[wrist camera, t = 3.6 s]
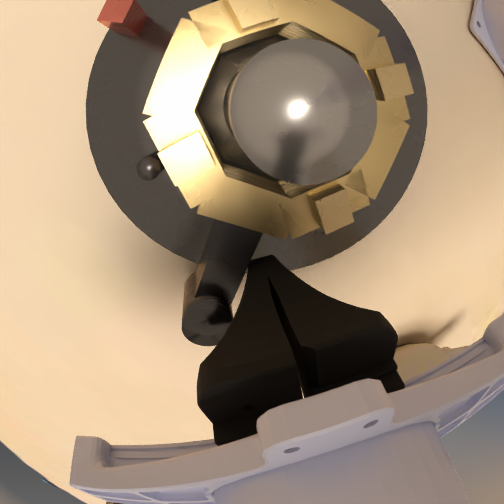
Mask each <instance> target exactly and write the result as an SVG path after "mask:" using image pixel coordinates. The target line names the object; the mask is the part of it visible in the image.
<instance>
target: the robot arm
mask: <svg viewBox="0 0 504 504" xmlns="http://www.w3.org/2000/svg"><path fill="white" fill-rule="evenodd" d="M470 30H471V32H472V33H473V34H474V35H475V37H476V38H477V39H478V40H479V41H480V43H481V44H482V45H483V46H484V47H485V49H486V50H487V51H488V53H489V54H490V55H491V56H492V58H493V59H494V60H495V62H496V63H497V65H498V66H499V67H500V69H501V70H502V72H503V73H504V0H475V1H474V6H473V11H472V16H471V21H470ZM397 341H398V336H397V333H396V331H395V330H394V328H393V327H392V325H391V324H390V323H389V322H388V320H387V319H386V318H385V317H384V316H383V315H382V314H381V313H380V312H378V311H373V310H369V309H364V308H360V307H356V306H353V305H350V304H346V303H344V302H341V301H339V300H336V299H334V298H331V297H329V296H327V295H325V294H323V293H321V292H319V291H318V290H316V289H314V288H313V287H311V286H310V285H308V284H307V283H305V282H304V281H302V280H301V279H300V278H298V277H297V276H296V275H295V274H293V273H292V272H291V271H290V270H288V269H287V268H286V267H285V266H284V265H283V264H282V263H281V262H280V261H279V260H278V259H277V258H276V256H274V255H273V254H271V255H268V256H264V257H260V258H257V259H253V260H251V261H250V263H249V265H248V273H247V279H246V284H245V288H244V292H243V295H242V298H241V301H240V304H239V307H238V309H237V312H236V314H235V316H234V318H233V320H232V322H231V324H230V326H229V328H228V329H227V331H226V333H225V334H224V336H223V337H222V339H221V340H220V341H219V343H218V344H217V346H216V347H215V348H214V350H213V351H212V352H211V353H210V354H209V355H208V357H207V358H206V359H205V360H204V361H203V362H202V363H201V364H200V368H199V373H198V380H197V403H198V406H199V408H200V409H201V410H202V412H203V413H204V414H205V415H206V416H207V418H208V419H209V420H210V421H211V422H212V423H213V431H214V439H209V440H202V441H193V442H184V443H172V444H156V445H110V444H109V443H108V442H107V441H105V440H104V439H102V438H99V437H91V436H76V440H75V446H74V453H73V459H72V467H71V475H70V486H72V487H74V488H76V489H78V490H81V491H83V492H85V493H88V494H90V495H92V496H95V497H97V498H100V499H103V500H105V501H109V502H116V503H123V504H470V501H469V499H468V496H467V494H466V492H465V489H464V487H463V485H462V482H461V480H460V478H459V476H458V473H457V471H456V469H455V467H454V465H453V463H452V461H451V458H450V456H449V455H448V452H447V450H446V448H445V446H444V444H443V442H442V440H441V437H442V436H444V435H446V434H447V433H449V432H450V431H451V430H453V429H454V428H456V427H457V426H459V425H460V424H461V423H463V422H464V421H465V420H467V419H468V418H469V417H471V416H472V415H473V414H474V413H476V412H477V411H478V410H480V409H481V408H482V407H483V406H484V405H486V404H487V403H488V402H489V401H491V400H492V399H493V398H494V397H495V396H496V395H498V394H499V393H500V392H501V391H502V390H504V314H502V315H501V316H499V317H498V318H497V319H495V320H494V321H492V322H491V323H490V324H489V325H488V327H487V328H486V330H485V332H484V335H483V337H482V338H481V339H479V340H478V341H476V342H475V343H473V344H472V345H470V346H468V347H467V348H465V349H464V350H462V351H460V352H459V353H457V354H455V355H454V356H452V357H450V358H449V359H447V360H445V361H443V362H441V363H440V364H438V365H436V366H434V367H432V368H431V369H429V370H427V371H425V372H423V373H421V374H419V375H417V376H415V377H413V378H411V379H409V380H407V381H405V382H403V381H402V379H401V377H400V375H399V374H398V372H397V369H398V366H397V364H396V362H395V360H394V359H393V358H394V354H395V350H396V346H397ZM301 388H302V390H301ZM302 392H303V395H304V399H303V395H302Z"/></svg>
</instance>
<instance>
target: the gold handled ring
mask: <svg viewBox="0 0 504 504" xmlns="http://www.w3.org/2000/svg"><path fill="white" fill-rule="evenodd" d="M188 14H189V19H190V20H188V19H184V18H181V20H180V22H179V24H178V26H177V28H176V30H175V32H174V35H173V37H172V39H171V41H170V43H169V46H168V48H167V50H166V52H165V55H164V57H163V60H162V62H161V64H160V67H159V69H158V72H157V74H156V77H155V80H154V82H153V85H152V88H151V90H150V93H149V96H148V99H147V102H146V104H145V107H144V110H143V113H144V114H148V115H152V117H150V118H149V119H147V120H145V121H143V122H144V124H145V126H146V128H147V130H148V132H149V134H150V135H151V137H152V139H153V141H154V143H155V145H156V147H157V149H158V150H159V152H158V156H159V158H160V160H161V161H162V163H163V165H164V167H165V169H166V171H167V172H168V174H169V176H170V178H171V180H172V181H173V183H174V185H175V186H177V185H178V187H179V189H180V191H181V192H182V194H183V196H184V198H185V199H186V201H187V203H188V205H189V207H190V208H193V207H195V206H197V205H198V207H197V214H200V215H203V216H207V217H210V218H214V221H213V224H212V227H211V230H210V232H209V235H208V238H207V241H206V244H205V246H204V249H203V252H202V255H201V258H200V261H199V264H198V267H197V270H196V272H195V273H193V274H192V275H191V276H189V278H188V279H187V280H186V282H185V286H184V300H183V316H182V332H183V334H184V336H185V337H186V338H187V339H188V340H189V341H191V342H192V343H195V344H197V345H201V346H215V345H217V344H218V343H219V341H220V340H221V339H222V337H223V336H224V334H225V333H226V331H227V329H228V328H229V326H230V324H231V322H232V320H233V313H232V306H231V303H232V301H233V299H234V296H235V294H236V292H237V290H238V288H239V285H240V283H241V281H242V279H243V276H244V274H245V272H246V270H247V268H248V265H249V263H250V261H251V259H252V256H253V254H254V252H255V250H256V248H257V245H258V243H259V241H260V239H261V236H262V234H263V233H264V234H267V235H271V236H274V237H277V238H280V239H284V240H286V238H287V236H288V234H290V236H291V238H292V239H295V238H297V237H299V236H301V235H304V234H306V233H308V232H310V231H313V230H315V229H317V228H319V227H320V228H321V229H322V230H323V232H324V233H325V234H329V233H331V232H333V231H335V230H337V229H340V228H342V227H344V226H346V225H348V224H351V223H353V222H354V219H353V215H352V213H353V212H355V211H357V210H359V209H362V208H364V207H366V206H368V205H370V202H369V198H368V197H370V198H372V199H374V200H375V199H376V197H377V195H378V193H379V191H380V189H381V187H382V185H383V183H384V181H385V179H386V177H387V174H388V172H389V170H390V168H391V166H392V164H393V162H394V160H395V158H396V155H397V153H398V151H399V149H400V147H401V144H402V142H403V140H404V138H405V135H406V133H407V131H408V128H409V126H410V125H408V124H407V123H406V122H404V121H405V120H408V119H410V116H409V112H408V108H407V104H406V100H405V96H406V95H410V94H414V92H413V88H412V84H411V81H410V78H409V74H408V71H407V68H406V65H405V63H396V64H395V63H394V60H393V58H392V55H391V52H390V49H389V46H388V44H387V41H386V39H385V36H383V37H378V34H379V32H380V30H379V29H377V28H376V27H374V26H373V25H371V24H370V23H368V22H367V21H365V20H364V19H362V18H360V17H359V16H357V15H356V14H354V13H352V12H351V11H349V10H347V9H345V8H344V7H342V6H340V5H338V4H337V3H335V2H333V1H331V0H219V1H216V2H213V3H210V4H208V5H205V6H202V7H200V8H197V9H195V10H192V11H190V12H188ZM277 34H278V35H281V36H283V37H285V38H288V39H297V38H305V39H314V40H319V41H323V42H326V43H329V44H331V45H333V46H335V47H337V48H339V49H341V50H342V51H344V52H345V53H347V54H348V55H349V56H351V57H352V58H353V59H354V60H355V61H356V62H357V63H358V64H359V65H360V67H361V68H362V69H363V71H364V72H365V73H366V75H367V77H368V79H369V81H370V82H371V85H372V87H373V90H374V93H375V97H376V102H377V125H376V130H375V134H374V137H373V140H372V142H371V145H370V146H369V148H368V150H367V152H366V153H365V155H364V156H363V158H362V159H361V160H360V161H359V162H358V163H357V164H356V165H355V166H354V167H353V168H352V169H351V170H349V171H348V172H346V173H345V174H343V175H342V176H340V177H338V178H336V179H334V180H331V181H328V182H325V183H320V184H313V185H298V184H292V183H288V182H284V181H281V180H280V181H278V182H277V181H274V180H271V179H268V178H266V177H263V176H260V175H257V174H254V173H252V172H249V171H246V170H243V169H240V168H237V167H234V166H231V165H228V164H225V163H223V162H222V160H221V158H220V156H219V154H218V152H217V150H216V148H215V146H214V144H213V142H212V140H211V138H210V136H209V134H208V132H207V130H206V128H205V126H204V124H203V122H202V120H201V118H200V116H199V114H198V112H197V107H198V105H199V102H200V99H201V97H202V94H203V92H204V89H205V87H206V85H207V82H208V80H209V77H210V75H211V73H212V70H213V68H214V66H215V63H216V61H217V59H218V57H219V54H221V53H224V52H227V51H229V50H232V49H234V48H237V47H240V46H243V45H245V44H248V43H251V42H254V41H257V40H260V39H263V38H267V37H270V36H273V35H277Z"/></svg>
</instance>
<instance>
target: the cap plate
mask: <svg viewBox="0 0 504 504" xmlns="http://www.w3.org/2000/svg"><path fill="white" fill-rule="evenodd" d="M216 1H219V0H107V1H106V3H105V5H104V7H103V9H102V11H101V13H100V15H99V17H98V19H97V21H99V22H100V23H102V24H103V25H105V26H106V27H108V28H110V29H109V31H108V32H107V34H106V36H105V38H104V40H103V42H102V44H101V46H100V48H99V50H98V53H97V55H96V57H95V60H94V64H93V67H92V71H91V74H90V78H89V83H88V90H87V99H86V124H87V132H88V138H89V143H90V149H91V152H92V155H93V158H94V161H95V164H96V167H97V170H98V172H99V174H100V176H101V178H102V180H103V182H104V184H105V186H106V188H107V190H108V192H109V193H110V195H111V196H112V198H113V199H114V200H115V202H116V203H117V205H118V206H119V207H120V209H121V210H122V211H123V212H124V214H125V215H126V216H127V217H128V218H129V219H130V220H131V221H132V222H133V223H134V224H135V225H136V226H137V227H138V228H139V229H140V230H141V231H143V232H144V233H145V234H146V235H148V236H149V237H150V238H151V239H152V240H154V241H155V242H157V243H158V244H160V245H162V246H163V247H165V248H166V249H168V250H170V251H171V252H173V253H175V254H177V255H179V256H182V257H184V258H186V259H188V260H190V261H192V262H196V263H199V261H200V258H201V255H202V252H203V249H204V246H205V244H206V241H207V238H208V235H209V232H210V230H211V227H212V224H213V221H214V218H210V217H207V216H203V215H200V214H197V207H198V205H197V206H195V207H193V208H190V207H189V205H188V203H187V201H186V199H185V198H184V196H183V194H182V192H181V191H180V189H179V187H178V185H177V186H175V185H174V183H173V181H172V180H171V178H170V176H169V174H168V172H167V171H166V169H165V167H164V165H163V163H162V161H161V160H160V158H159V156H158V152H159V150H158V149H157V147H156V145H155V143H154V141H153V139H152V137H151V135H150V134H149V132H148V130H147V128H146V126H145V124H144V122H143V121H145V120H147V119H149V118H150V117H152V115H148V114H144V113H143V110H144V107H145V104H146V102H147V99H148V96H149V93H150V90H151V88H152V85H153V82H154V80H155V77H156V74H157V72H158V69H159V67H160V64H161V62H162V60H163V57H164V55H165V52H166V50H167V48H168V46H169V43H170V41H171V39H172V37H173V35H174V32H175V30H176V28H177V26H178V24H179V22H180V20H181V18H184V19H188V20H190V19H189V14H188V12H190V11H192V10H195V9H197V8H200V7H202V6H205V5H208V4H210V3H213V2H216ZM331 1H333V2H335V3H337V4H338V5H340V6H342V7H344V8H345V9H347V10H349V11H351V12H352V13H354V14H356V15H357V16H359V17H360V18H362V19H364V20H365V21H367V22H368V23H370V24H371V25H373V26H374V27H376V28H377V29H379V30H380V32H379V34H378V37H383V36H385V39H386V41H387V44H388V46H389V49H390V52H391V55H392V58H393V60H394V63H395V64H396V63H405V65H406V68H407V71H408V74H409V78H410V81H411V84H412V88H413V92H414V94H410V95H406V96H405V100H406V104H407V108H408V112H409V116H410V119H408V120H405V121H404V122H406V123H407V124H408V125H410V126H409V128H408V131H407V133H406V135H405V138H404V140H403V142H402V144H401V147H400V149H399V151H398V153H397V155H396V158H395V160H394V162H393V164H392V166H391V168H390V170H389V172H388V174H387V177H386V179H385V181H384V183H383V185H382V187H381V189H380V191H379V193H378V195H377V197H376V199H375V200H374V199H372V198H370V197H368V198H369V202H370V205H368V206H366V207H364V208H362V209H359V210H357V211H355V212H353V213H352V215H353V219H354V222H353V223H351V224H348V225H346V226H344V227H342V228H340V229H337V230H335V231H333V232H331V233H329V234H325V233H324V232H323V230H322V229H321V228H320V227H319V228H317V229H315V230H313V231H310V232H308V233H306V234H304V235H301V236H299V237H297V238H295V239H292V238H291V236H290V234H288V236H287V238H286V240H284V239H280V238H277V237H274V236H271V235H267V234H264V233H263V234H262V236H261V239H260V241H259V243H258V245H257V248H256V250H255V252H254V254H253V256H252V259H251V260H253V259H257V258H260V257H264V256H268V255H271V254H273V255H274V256H276V258H277V259H278V260H279V261H280V262H281V263H282V264H283V265H284V266H285V267H286V268H287V269H288V270H294V269H298V268H302V267H305V266H309V265H313V264H315V263H318V262H320V261H323V260H326V259H328V258H331V257H333V256H335V255H336V254H338V253H340V252H342V251H344V250H346V249H348V248H349V247H351V246H352V245H354V244H355V243H357V242H358V241H360V240H361V239H362V238H364V237H365V236H366V235H368V234H369V233H370V232H371V231H372V230H373V229H374V228H376V227H377V226H378V225H379V224H380V223H381V222H382V221H383V220H384V219H385V217H386V216H387V215H388V214H389V213H390V212H391V211H392V210H393V208H394V207H395V205H396V204H397V203H398V201H399V200H400V199H401V197H402V196H403V194H404V192H405V191H406V189H407V187H408V185H409V183H410V182H411V180H412V178H413V175H414V173H415V170H416V168H417V165H418V163H419V160H420V156H421V153H422V149H423V145H424V141H425V134H426V127H427V98H426V88H425V83H424V78H423V74H422V70H421V66H420V63H419V61H418V58H417V55H416V53H415V50H414V48H413V46H412V44H411V42H410V40H409V38H408V36H407V34H406V33H405V31H404V29H403V28H402V26H401V25H400V23H399V22H398V20H397V19H396V18H395V16H394V15H393V14H392V12H391V11H390V10H389V9H388V8H387V7H386V6H385V5H384V4H383V2H382V1H381V0H331ZM197 112H198V114H199V116H200V118H201V120H202V122H203V124H204V126H205V128H206V130H207V132H208V134H209V136H210V138H211V140H212V142H213V144H214V146H215V148H216V150H217V152H218V154H219V156H220V158H221V160H222V162H223V163H225V164H228V165H231V166H234V167H237V168H240V169H243V170H246V171H249V172H252V173H254V174H257V175H260V176H263V177H266V178H268V179H271V180H274V181H277V182H278V181H280V180H281V181H284V182H288V183H292V184H298V185H313V184H320V183H325V182H328V181H331V180H334V179H336V178H338V177H340V176H342V175H343V174H345V173H346V172H348V171H349V170H351V169H352V168H353V167H354V166H355V165H356V164H357V163H358V162H359V161H360V160H361V159H362V158H363V156H364V155H365V153H366V152H367V150H368V148H369V146H370V145H371V142H372V140H373V137H374V134H375V130H376V125H377V102H376V97H375V93H374V90H373V87H372V85H371V82H370V81H369V79H368V77H367V75H366V73H365V72H364V71H363V69H362V68H361V67H360V65H359V64H358V63H357V62H356V61H355V60H354V59H353V58H352V57H351V56H349V55H348V54H347V53H345V52H344V51H342V50H341V49H339V48H337V47H335V46H333V45H331V44H329V43H326V42H323V41H319V40H314V39H305V38H297V39H288V38H285V37H283V36H281V35H278V34H277V35H273V36H270V37H267V38H263V39H260V40H257V41H254V42H251V43H248V44H245V45H243V46H240V47H237V48H234V49H232V50H229V51H227V52H224V53H221V54H219V57H218V59H217V61H216V63H215V66H214V68H213V70H212V73H211V75H210V77H209V80H208V82H207V85H206V87H205V89H204V92H203V94H202V97H201V99H200V102H199V105H198V107H197ZM245 273H248V268H247V270H246V272H245Z"/></svg>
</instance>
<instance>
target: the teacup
mask: <svg viewBox="0 0 504 504" xmlns="http://www.w3.org/2000/svg"><path fill="white" fill-rule="evenodd" d="M467 347H468V346H464V347H459V348H454V349H451V348H449V347H443V348H442V349H441V348H439V347H438V346H436V345H433V344H429V343H419V344H407V345H403V346H400V347H397V348H396V350H395V354H394V358H393V359H394V360H395V362H396V364H397V366H398V369H397V372H398V374H399V375H400V377H401V379H402V381H403V382H405V381H407V380H409V379H411V378H413V377H415V376H417V375H419V374H421V373H423V372H425V371H427V370H429V369H431V368H432V367H434V366H436V365H438V364H440V363H441V362H443V361H445V360H447V359H449V358H450V357H452V356H454V355H455V354H457V353H459V352H460V351H462V350H464V349H465V348H467Z"/></svg>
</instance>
